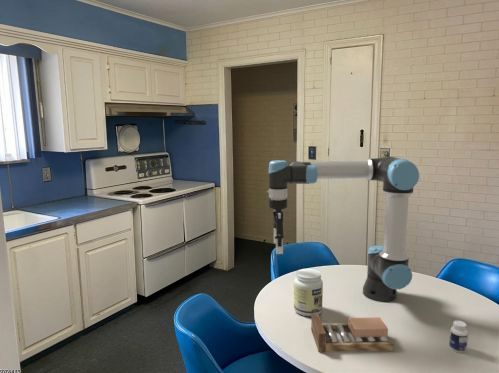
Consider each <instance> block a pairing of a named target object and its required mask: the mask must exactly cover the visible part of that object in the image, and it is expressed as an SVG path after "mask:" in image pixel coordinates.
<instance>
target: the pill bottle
mask: <svg viewBox="0 0 499 373" xmlns="http://www.w3.org/2000/svg"><path fill="white" fill-rule="evenodd" d="M449 331H450V332H449V343H448V344H449V346H448V347H449V349H450V350H452V351H453V352H455V353H458V354H459V353H460V354H463V353H466V352H467V349H468V337H469V332H468V330H467V323H466V322H464V321H462V320H454V321H453V323H452V326H451V327H450V330H449Z"/></svg>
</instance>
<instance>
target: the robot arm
mask: <svg viewBox="0 0 499 373" xmlns="http://www.w3.org/2000/svg"><path fill="white" fill-rule="evenodd" d="M419 178H420V172H419V168H418V167H417V165H415V164H414V163H413V162H412V161H410V160H408V159H405V158H400V157H394V156H386V157H385V156H383V157H378V158H375V157H374V158H367V159H366V160H353V161H352V160H349V161H348V160H347V161H299V160H298V161H296V160H295V161H293V162H291V163H290V164H288V161H287V160H276V159H275V160H271V161H270V162H269V164H268V190H267V193H268V198H269V199H268V208H269V209H271V210H273V212H272V214H273V217H272V218H273V224H272V225H273V244H275V254H276V255H283V254H284V212H283V211H282V210H286V209H287V208H288V185H296V184H297V185H300V184H301V185H311V184H316V183H317V181H318V180H325V179H326V180H330V179H336V180H337V179H366V180H367V181H376V182H381V183H382V192H383V193H384V194H385V195H386V197H385V200H386V201H385V215H384V231H383V233H384V234H383V235H384V236H383V245H372V246H370V247H368V251H367V272H366V273H367V274H366V275H367V276H366V278H365V281H364V284H363V287H362V295H364V297H366V298H367V299H371V300H373V301H378V302H390V301H392V302H393V301H394V300H396V299H397V297H398V291H397V290H402V289H405V288H406V287H407V286H409V285H410V283H411V282H412V279H413V272H412V270H411V268H410V267H409V259H410V258H409V257H410V256H409V255H408V254H407V252H406V245H407V244H406V243H407V231H408V230H407V229H408V216H409V214H408V213H409V198H410V196H411V195H412V194H413V193H414V187H415V186H416V185H417V184H418V182H419Z"/></svg>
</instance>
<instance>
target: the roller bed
mask: <svg viewBox="0 0 499 373" xmlns="http://www.w3.org/2000/svg"><path fill="white" fill-rule="evenodd" d="M338 323H339V322H338ZM325 324H326V325H325V326H324V327H325V330H326V331H325V333H326V336H328V340H329V343H339V342H338V340H337V337H336V335H335V331H333V330H332V328H331V326H330V324H331V323H325ZM336 328H337V330H338V331H337V332H338V335H339V336H340V338H341V341H342V343H351V340H350V338H349V337H348V334H347V331H345V330H344V328H343V326H342V324H340V323H339V324H337V325H336ZM348 328H349V326H348ZM349 330H350V328H349ZM349 332H350V335H351V336H352V338H353V340H354V343H359V342H364V340H363V339H362V337H354V336H353V334H352V332H351V330H350V331H349ZM377 338H378V340H379V342H389V340H388V338H387V336H383V337H377ZM365 339H366V342H377V341H376V339H375V337H365Z"/></svg>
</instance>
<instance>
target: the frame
mask: <svg viewBox="0 0 499 373" xmlns="http://www.w3.org/2000/svg"><path fill="white" fill-rule="evenodd" d="M322 322H323V321H322V320H321V318H320V316H319V314H318V313H312V316H311V328H310V329H311V333H312V336H313V339H314V342H315V345H316V349H317V351H318V353H333V352H334V353H338V352H340V353H341V352H343V353H344V352H345V353H346V352H383V351H384V352H385V351H387V352H389V351H394V349H395V348H394V346H395V345H394V342H393V341H388V342H381V341H376V342H368V341H363V342H359V343H356V342H350V343H343V342H338V343H331V342H327V341H326V339H327V332H326V330H325V327H324V326H325V325H326V324H327V323H322ZM329 324H330V326H331V328H332V330H333V332H338V330H337V328H336V325H337V324H339V322H335V323H333V322H332V323H329ZM340 324H342V326H343V328H344V330H345V332H350V330H349V328H348V322H346V323H345V322H342V323H340Z"/></svg>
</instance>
